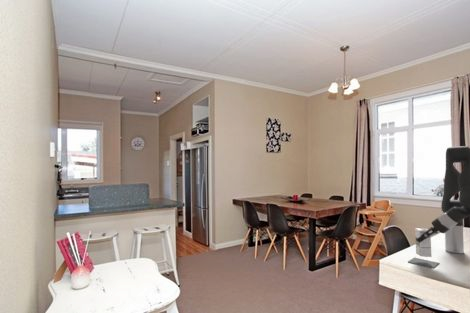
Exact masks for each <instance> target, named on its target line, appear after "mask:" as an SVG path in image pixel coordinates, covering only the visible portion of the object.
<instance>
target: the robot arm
mask: <svg viewBox="0 0 470 313" xmlns="http://www.w3.org/2000/svg"><path fill="white" fill-rule="evenodd" d="M455 163H456V164H457V163H464V164H465V166H464V167H463V169H462V171H461V172H460V171H459V170H458V169H457V168H456V167H455V165H454V164H455ZM443 180H444V181H443V193H442V194H443V196H442V199H441V212H442V214H441V215H440V216H438V217H436V218H435V219H434V220H432V221H431V225H432V226H431V227H429V228H428V229H427V231H425V232H424V234H422V235H421V236H420V237H419V238H418V239H417V241H418V242H419V243H420V242H422V241H423V240H425V239H427V238H428V237H429V238H430V237H434V236H435V235H437V234H438V233H441V234H444V247H445V251H446V252H449V253H453V254H464V253H465V251H464V250H465V249H464V248H465V246H464V243H465V241H464V219H466V218H469V217H470V146H466V145H463V146H462V145H461V146H449V147H447V148H446V150H445V173H444V179H443ZM458 193H459V197H458V199H452V198H453V197H455V196H456V195H457V194H458ZM425 234H426V235H427V237H425V236H424V235H425Z"/></svg>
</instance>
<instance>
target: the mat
mask: <svg viewBox="0 0 470 313" xmlns="http://www.w3.org/2000/svg"><path fill="white" fill-rule="evenodd" d="M407 263H408V264H412V265H417V266H421V267H426V268H430V269H435V268H436V267H437V266H439V265H440V263H441V262H440V261H435V260H431V259H425V258H421V257H417V256H414V257H412V258H411V259H409V260H408V261H407Z"/></svg>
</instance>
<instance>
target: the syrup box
mask: <svg viewBox="0 0 470 313" xmlns="http://www.w3.org/2000/svg"><path fill="white" fill-rule="evenodd" d="M414 230H415V232H414V234H415V252H416V253H415V254H417V255H419V257H424V258H425V257H426V258H432V240H431V239H432V238H431V237H432V236H431V237H430V238H429V237H428V238H427V239H425V240H423V241H422V242H420V243H419V242H418V241H417V239H418V238H419V237H420V236H421V235H422V234H424V232H425V231H427V230H428V229H427V228H420V227H419V228H418V227H417V228H414ZM424 236H425V237H427V235H426V234H425V235H424Z"/></svg>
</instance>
